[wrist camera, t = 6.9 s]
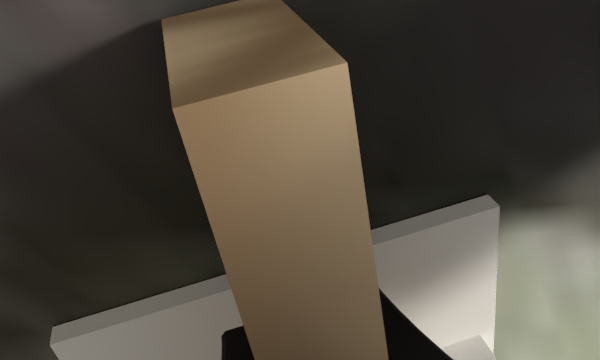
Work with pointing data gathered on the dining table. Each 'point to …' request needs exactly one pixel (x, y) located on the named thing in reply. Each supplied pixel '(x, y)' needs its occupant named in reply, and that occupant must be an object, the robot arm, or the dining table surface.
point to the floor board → (391, 280)
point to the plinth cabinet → (469, 350)
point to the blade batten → (279, 177)
